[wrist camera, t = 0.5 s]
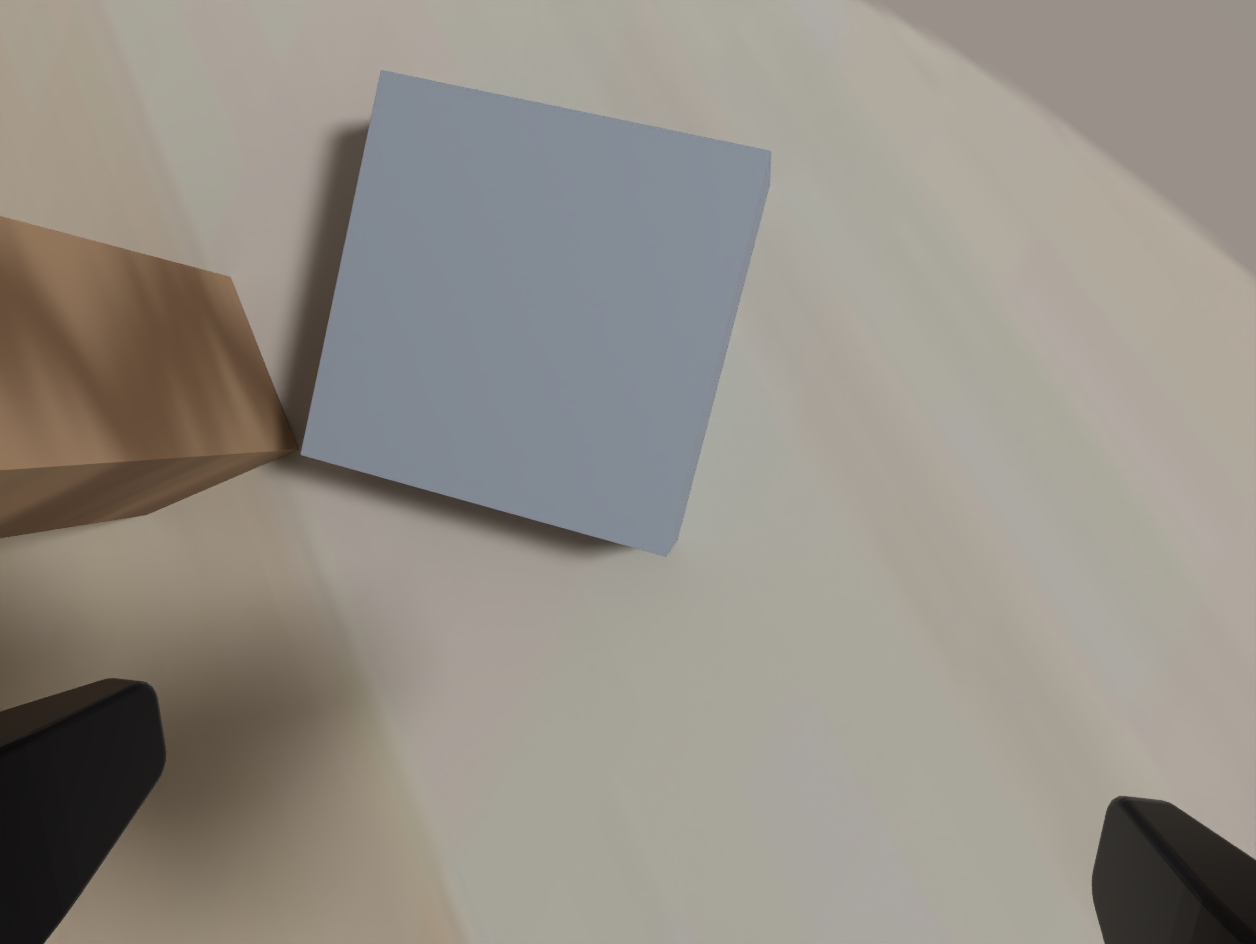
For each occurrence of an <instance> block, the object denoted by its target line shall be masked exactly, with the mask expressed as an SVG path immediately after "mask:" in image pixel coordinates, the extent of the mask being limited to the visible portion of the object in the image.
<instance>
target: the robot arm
mask: <svg viewBox="0 0 1256 944" xmlns="http://www.w3.org/2000/svg"><path fill="white" fill-rule="evenodd" d="M165 762H166V746H165V740H164V734H163V728H162V721H161V715H160V709H159V703H158V698H157V694H156V692H155V690H154V689H153V687H152V686H151V685H149V684H148V683H146V682H142V681H134V680H125V679H117V678H110V679H104V680H101V681H97V682H94V683H91V684H88V685H85V686H81V687H78V688H75V689H72V690H68V691H65V692H62V693H59V694H56V695H52V696H49V697H46V698H43V699H39V700H36V701H33V702H30V703H27V704H23V705H20V706H17V707H14V708H10V709H7V710H4V711H1V712H0V944H44V943H45V942H46V940H47V939H48V938H49V936H50V935H51V934H52V933H53V931H54V930H55V929H56V927H57V926H58V925H59V924H60V922H61V921H62V920H63V918H64V917H65V916H66V914H67V913H68V911H69V910H70V909H71V907H72V906H73V904H74V903H75V902H76V900H77V899H78V897H79V896H80V895H81V893H82V892H83V890H84V889H85V887H86V886H87V884H88V883H89V881H90V880H91V878H92V877H93V876H94V874H95V873H96V871H97V870H98V868H99V867H100V865H101V864H102V862H103V861H104V859H105V858H106V856H107V855H108V853H109V852H110V851H111V849H112V848H113V846H114V845H115V843H116V842H117V840H118V839H119V837H120V836H121V834H122V833H123V831H124V830H125V828H126V827H127V826H128V824H129V823H130V821H131V820H132V818H133V817H134V815H135V814H136V812H137V811H138V809H139V808H140V806H141V805H142V803H143V802H144V800H145V799H146V798H147V796H148V795H149V793H150V792H151V790H152V789H153V787H154V786H155V784H156V783H157V781H158V780H159V778H160V776H161V774H162V772H163V769H164V766H165ZM1092 895H1093V902H1094V906H1095V910H1096V914H1097V917H1098V921H1099V925H1100V928H1101V932H1102V935H1103V939H1104V943H1105V944H1256V860H1255V859H1254V858H1252V857H1251V856H1249V855H1248V854H1246V853H1245V852H1243V851H1242V850H1240V849H1239V848H1237V847H1236V846H1234V845H1233V844H1231V843H1230V842H1228V841H1227V840H1225V839H1224V838H1222V837H1221V836H1219V835H1218V834H1216V833H1215V832H1213V831H1212V830H1210V829H1209V828H1207V827H1206V826H1204V825H1203V824H1201V823H1200V822H1198V821H1197V820H1195V819H1194V818H1192V817H1191V816H1189V815H1188V814H1186V813H1185V812H1183V811H1182V810H1180V809H1179V808H1177V807H1176V806H1175V805H1173V804H1171V803H1169V802H1166V801H1163V800H1155V799H1146V798H1137V797H1128V796H1118V797H1117V798H1115V799H1113V800H1112V801H1111V803H1110V804H1109V806H1108V808H1107V811H1106V815H1105V819H1104V824H1103V828H1102V833H1101V837H1100V842H1099V846H1098V851H1097V855H1096V860H1095V864H1094V869H1093V874H1092Z"/></svg>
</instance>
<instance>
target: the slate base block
mask: <svg viewBox="0 0 1256 944" xmlns="http://www.w3.org/2000/svg"><path fill="white" fill-rule="evenodd" d="M770 168H771V151H769V150H764V149H759V148H754V147H749V146H744V145H740V144H735V143H730V142H725V141H720V140H716V139H711V138H706V137H701V136H696V135H691V134H687V133H682V132H677V131H672V130H667V129H663V128H658V127H653V126H648V125H643V124H638V123H634V122H629V121H624V120H619V119H614V118H609V117H605V116H600V115H595V114H590V113H585V112H581V111H576V110H571V109H566V108H561V107H556V106H552V105H547V104H542V103H537V102H532V101H528V100H523V99H518V98H513V97H508V96H503V95H499V94H494V93H489V92H484V91H479V90H474V89H470V88H465V87H460V86H455V85H450V84H446V83H441V82H436V81H431V80H426V79H421V78H417V77H412V76H407V75H402V74H397V73H393V72H388V71H383V70H381V72H380V77H379V81H378V86H377V91H376V96H375V101H374V105H373V110H372V115H371V120H370V124H369V129H368V134H367V139H366V144H365V148H364V153H363V158H362V163H361V168H360V172H359V177H358V182H357V187H356V191H355V196H354V201H353V206H352V211H351V215H350V220H349V225H348V230H347V235H346V239H345V244H344V249H343V254H342V258H341V263H340V268H339V273H338V278H337V282H336V287H335V292H334V297H333V302H332V306H331V311H330V316H329V321H328V325H327V330H326V335H325V340H324V345H323V349H322V354H321V359H320V364H319V369H318V373H317V378H316V383H315V388H314V392H313V397H312V402H311V407H310V412H309V416H308V421H307V426H306V431H305V436H304V440H303V445H302V450H301V455H303V456H306V457H310V458H313V459H317V460H321V461H324V462H328V463H331V464H335V465H339V466H342V467H346V468H349V469H353V470H356V471H360V472H364V473H367V474H371V475H374V476H378V477H382V478H385V479H389V480H392V481H396V482H399V483H403V484H407V485H410V486H414V487H417V488H421V489H425V490H428V491H432V492H435V493H439V494H443V495H446V496H450V497H453V498H457V499H460V500H464V501H468V502H471V503H475V504H478V505H482V506H486V507H489V508H493V509H496V510H500V511H504V512H507V513H511V514H514V515H518V516H521V517H525V518H529V519H532V520H536V521H539V522H543V523H547V524H550V525H554V526H557V527H561V528H564V529H568V530H572V531H575V532H579V533H582V534H586V535H590V536H593V537H597V538H600V539H604V540H608V541H611V542H615V543H618V544H622V545H625V546H629V547H633V548H636V549H640V550H643V551H647V552H651V553H654V554H658V555H661V556H665V557H666V556H667V555H668V553H669V552H670V550H671V549H672V547H673V546H674V544H675V543H676V541H677V540H678V536H679V532H680V528H681V525H682V521H683V517H684V513H685V509H686V505H687V502H688V498H689V494H690V490H691V486H692V482H693V478H694V475H695V471H696V467H697V463H698V459H699V455H700V452H701V448H702V444H703V440H704V436H705V432H706V428H707V425H708V421H709V417H710V413H711V409H712V405H713V402H714V398H715V394H716V390H717V386H718V382H719V378H720V375H721V371H722V367H723V363H724V359H725V355H726V351H727V348H728V344H729V340H730V336H731V332H732V328H733V325H734V321H735V317H736V313H737V309H738V305H739V301H740V298H741V294H742V290H743V286H744V282H745V278H746V275H747V271H748V267H749V263H750V259H751V255H752V251H753V248H754V244H755V240H756V236H757V232H758V228H759V224H760V221H761V217H762V213H763V209H764V205H765V201H766V198H767V194H768V190H769V186H770Z"/></svg>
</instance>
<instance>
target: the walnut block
mask: <svg viewBox="0 0 1256 944" xmlns="http://www.w3.org/2000/svg"><path fill="white" fill-rule="evenodd" d="M296 450H298V446H297V444H296V441H295V439H294V436H293V434H292V431H291V429H290V426H289V424H288V421H287V419H286V416H285V414H284V411H283V408H282V406H281V403H280V401H279V398H278V396H277V393H276V391H275V388H274V386H273V383H272V381H271V378H270V376H269V373H268V371H267V368H266V366H265V363H264V361H263V358H262V356H261V353H260V350H259V348H258V345H257V343H256V340H255V338H254V335H253V333H252V330H251V328H250V325H249V323H248V320H247V318H246V315H245V313H244V310H243V308H242V305H241V303H240V300H239V298H238V295H237V292H236V290H235V287H234V285H233V282H232V280H231V277H228V276H225V275H221V274H217V273H213V272H210V271H206V270H202V269H198V268H194V267H191V266H187V265H183V264H179V263H175V262H172V261H168V260H164V259H160V258H157V257H153V256H149V255H145V254H141V253H138V252H134V251H130V250H126V249H123V248H119V247H115V246H111V245H107V244H104V243H100V242H96V241H92V240H88V239H85V238H81V237H77V236H73V235H70V234H66V233H62V232H58V231H54V230H51V229H47V228H43V227H39V226H36V225H32V224H28V223H24V222H20V221H17V220H13V219H9V218H5V217H1V216H0V538H4V537H10V536H17V535H23V534H29V533H35V532H42V531H48V530H54V529H60V528H67V527H73V526H79V525H85V524H92V523H98V522H104V521H111V520H117V519H123V518H129V517H136V516H142V515H147V514H150V513H152V512H154V511H157V510H159V509H161V508H163V507H166V506H168V505H170V504H173V503H175V502H177V501H180V500H182V499H184V498H187V497H189V496H191V495H194V494H196V493H198V492H201V491H203V490H205V489H208V488H210V487H212V486H215V485H217V484H219V483H222V482H224V481H226V480H229V479H231V478H233V477H236V476H238V475H240V474H243V473H245V472H247V471H249V470H252V469H254V468H256V467H259V466H261V465H263V464H266V463H268V462H270V461H273V460H275V459H277V458H280V457H282V456H284V455H287V454H289V453H291V452H294V451H296Z"/></svg>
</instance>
